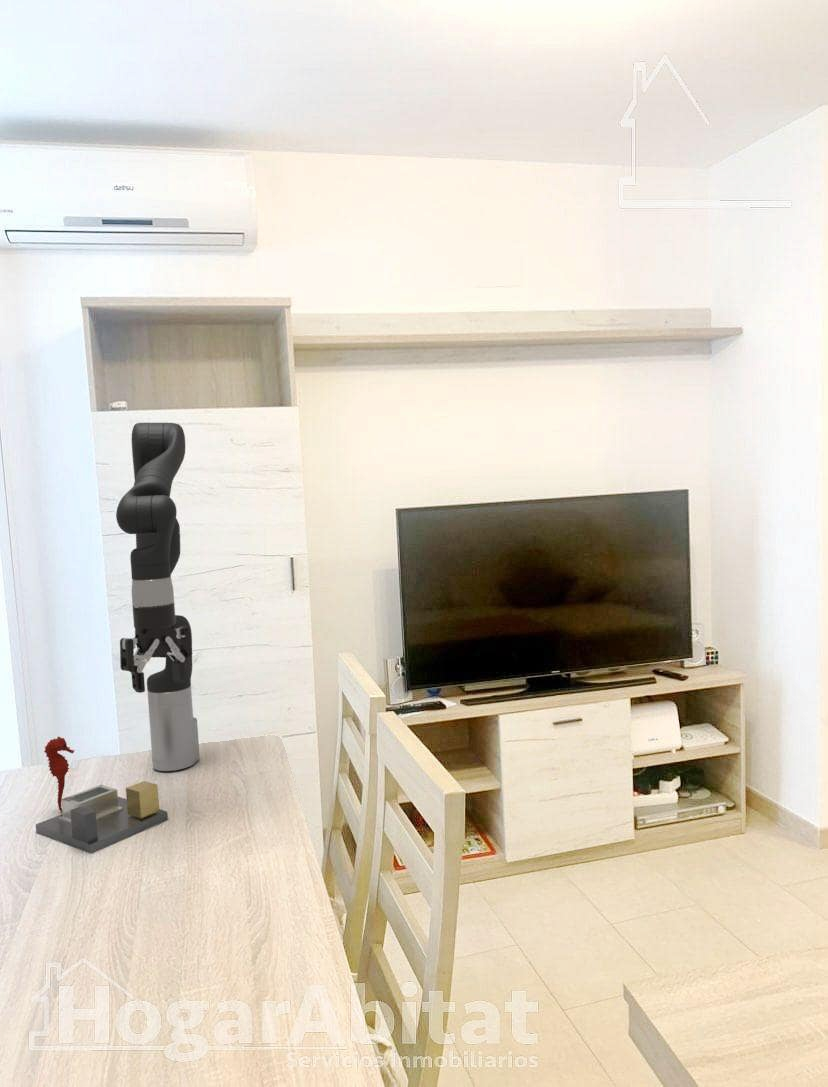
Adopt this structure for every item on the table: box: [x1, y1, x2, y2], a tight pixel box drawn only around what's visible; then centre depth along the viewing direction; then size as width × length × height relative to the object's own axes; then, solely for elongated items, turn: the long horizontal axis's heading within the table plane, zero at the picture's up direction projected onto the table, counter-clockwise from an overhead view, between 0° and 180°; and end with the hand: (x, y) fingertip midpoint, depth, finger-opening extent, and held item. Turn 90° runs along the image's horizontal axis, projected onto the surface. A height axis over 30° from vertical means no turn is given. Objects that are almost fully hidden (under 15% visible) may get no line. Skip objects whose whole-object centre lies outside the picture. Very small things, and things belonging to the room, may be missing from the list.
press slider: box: [125, 780, 160, 818], centre depth 151 cm, size 4×4×5 cm
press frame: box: [35, 784, 169, 854], centre depth 150 cm, size 16×17×6 cm
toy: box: [43, 736, 76, 813], centre depth 157 cm, size 2×5×15 cm, turn 119°
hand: (159, 686), depth 154 cm, fingers open, 8 cm apart
